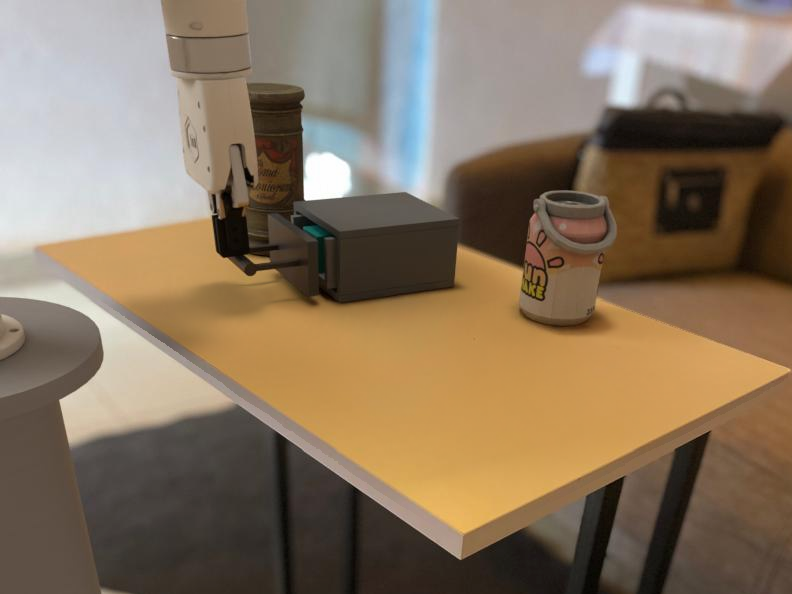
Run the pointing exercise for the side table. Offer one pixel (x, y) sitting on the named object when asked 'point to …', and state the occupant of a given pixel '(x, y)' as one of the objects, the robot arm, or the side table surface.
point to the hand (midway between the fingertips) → (233, 253)
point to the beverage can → (565, 256)
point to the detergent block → (319, 242)
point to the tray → (294, 255)
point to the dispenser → (386, 244)
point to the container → (275, 156)
